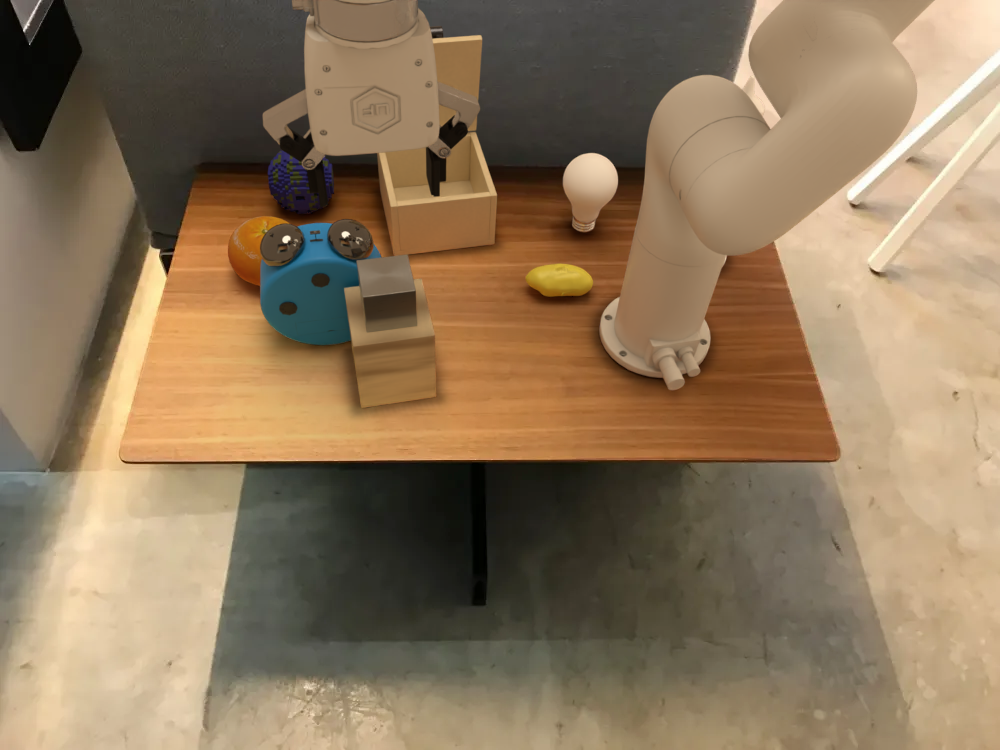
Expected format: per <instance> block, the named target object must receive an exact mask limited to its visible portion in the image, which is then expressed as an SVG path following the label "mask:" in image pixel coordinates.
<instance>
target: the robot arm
mask: <svg viewBox="0 0 1000 750" xmlns="http://www.w3.org/2000/svg"><path fill="white" fill-rule="evenodd" d="M935 1H936V0H781V2H780V3H779V4H778V5H777V6H776V7H775V8H774V9H773V10H772V11H771V12H770V13H769V14H768V15H767V16H766V17H765V18H764V20H763V21H762V22H761V23H760V25H759V26H758V27H757V29H755V31H754V33H753V35H752V37H751V39H750V42H749V45H748V53H747V55H748V62H749V67H750V70H751V71H752V74H753V76H754V77H755V81H756V82H757V84H758V85H759V87H760V88H761V90H762V92H763V94H764V95H765V96H766V98H767V100H768V101H769V103H770V104H771V106H772V107H773V109H774V110H775V112H776V113H777V115H778V116H779V118H780V119H779V120H778V121H777V123H776V124H774V125H773V126H772V127H770V126H769V124H768V122H767V121H766V120H765V118H764V115H763V116H762V115H761V113H760V112H759V110H758V109H757V107H756V106H755V104H754V103H753V102H752V100H751V99H750V97H749V96H748V95H747V94H746V93H745V92H744V91H743V90H742V89H743V88H741V87H740V86H739V85H737V84H736V83H735V82H733V81H731V80H730V79H727V78H726V77H725V78H724V77H722V76H719V75H712V74H702V75H696V76H692V77H689V78H687V79H684V80H683V81H681V82H679V83H678V84H676V85H674V86H673V87H672V88H671V89H670V90H668V92H667V93H665V95H664V96H663V97H662V99H661V100H660V101H659V103H658V105H657V106H656V109H655V110H654V112H653V114H652V117H651V121H650V123H649V127H648V132H647V138H646V146H645V148H646V149H645V162H644V163H645V166H644V181H643V190H642V194H641V201H640V206H639V210H638V215H637V220H636V224H635V227H634V232H633V235H632V236H633V237H632V241H631V244H630V245H631V246H630V249H629V254H628V259H627V263H626V268H625V272H624V276H623V282H622V286H621V290H620V295H619V296H617V298H614V299H613V300H612V301H611V302H610V303H609V304H608V305H606V306H607V307H605V309H604V310H603V312H602V314H601V316H600V322H599V326H598V327H599V328H598V329H599V338H600V341H601V344H602V346H603V349H604V350H605V352H606V353H607V354H608V355H609V356H610V357H611V359H613V360H614V361H615V362H616V363H618V364H619V365H620V366H622V367H623V368H625V369H627V370H628V371H631V372H633V373H635V374H638V375H642V376H646V377H649V378H656V379H657V378H658V379H663V381H664V383H665V386H666V387H667V390H669V391H677V390H679V389H682V387H684V385H685V384H686V381H685V378H684V376H683V375H686V374H687V376H688V377H690V378H694V377H697V376H698V375H700V373H701V369H700V367H699V366H700V365H701V363H702V362H703V361H704V359H705V358H706V357H707V354H708V352H709V349H710V346H711V340H712V339H711V330H710V328H709V325H708V323H707V320H706V319H705V317H706V315H707V312H708V309H709V306H710V303H711V300H712V297H713V294H714V291H715V289H716V285H717V282H718V280H719V277H720V274H721V271H722V269H723V267H724V265H723V263H724V260H725V257H726V255H727V257H729V256H730V257H731V256H732V257H733V256H735V257H736V256H742V255H747V254H751V253H754V252H756V251H759V250H761V249H763V248H765V247H767V246H769V245H770V244H772V243H773V242H775V241H777V240H778V239H780V238H781V237H782V236H784V235H785V234H787V233H788V232H789V231H791V230H792V229H793V228H795V227H796V226H797V225H799V224H800V223H801V222H802V221H804V220H805V219H806V218H807V217H808V216H810V214H812V213H814V212H815V211H816V210H817V209H819V208H820V207H821V206H822V205H824V204H825V203H826V202H827V201H829V200H830V199H831V198H832V197H833V196H835V195H836V194H837V193H838V192H839V191H841V190H842V189H844V187H845V186H847V185H848V184H849V183H851V182H852V181H853V180H855V179H856V178H857V177H858V176H859V175H861V173H863V172H864V171H865V170H867V169H868V168H869V167H871V166H872V164H874V163H875V162H876V161H877V160H878V159H880V158H881V157H883V155H884V154H885V153H887V151H888V150H889V149H890V148H891V147H892V146H893V145H894V144H895V142H896V141H897V140H898V139H899V138H900V136H901V135H902V133H903V132H904V130H905V129H906V127H907V126H908V124H909V122H910V120H911V118H912V115H913V113H914V111H915V108H916V104H917V101H918V100H917V98H918V84H917V83H918V82H917V78H916V75H915V73H914V71H913V68H912V67H911V65H910V63H909V62H908V60H907V59H906V58H905V56H904V54H903V53H902V52H901V51H900V50H899V49H898V47H896V45H894V43H893V42H894V41H895V40H896V39H897V38H898V37H899V36H900V35H901V34H902V33H903V32H904V31H905V30H906V29H907V28H908V27H910V25H911V24H912V23H913V22H914V21H915V20H916V19H918V17H919V16H920V15H921V14H922V13H923V12H924V11H925V10H927V8H929V7H930V6H931V5H932V4H933V3H934V2H935ZM291 5H292V6H291V7H292V11H303V12H305V13H308V12H309V14H308V16H307V18H306V21H305V28H304V29H305V30H304V43H303V44H304V45H303V52H304V53H303V56H304V62H303V63H304V64H303V65H304V84H305V85H304V86H305V88H304V89H302V90H301V91H299V92H297V93H295V94H293V95H292V96H290V97H288V98H286V99H285V100H283V101H281V102H280V103H277V104H275V105H273V106H272V107H270V108H269V109H267V110H265V111H263V112H262V126H263V128H264V129H265V131H266V132H267V133H268V134H269V136H271V138H272V139H273V140H274V141H275V142H276V143H277V144H278V145H279V148H280V150H283V151H284V152H286V153H287V154H289V155H290V156H292V157H293V158H295V159H297V160H298V161H300V162H301V163H302V166H303V168H305V169H306V170H307V177H308V183H309V190H310V194H313V193H318V194H319V202H320V207H323V208H327V206H329V202H328V198H327V190H326V182H325V174H324V167H323V160H322V159H323V158H324V156H325V157H326V156H331V157H343V156H357V155H358V156H359V155H369V154H377V153H383V152H395V151H406V150H415V149H422V148H425V147H426V176H427V180H428V184H429V188H430V192H431V195H433V196H434V197H437V196H440V182H445V181H446V158H447V157H449V156H450V154H451V149H452V148H453V147H454V146H455V145H456V144H457V143H459V142H460V141H461V140H462V139H463V138H464V137H465V136H466V135H467V133H468V132H469V131H468V128H469V127H470V125H472V123H473V121H474V120H475V118H476V116H477V117H478V115H479V113H480V112H481V106H480V103H479V99H478V100H477V98H476V97H475V96H473V95H470V94H468V93H465V92H463V91H460V90H458V89H455V88H453V87H450V86H448V85H445V84H443V83H440V82H438V81H437V71H436V61H435V52H434V46H433V40H432V35H431V30H430V27H431V26H430V23H429V21H428V18H427V17H426V14H425V13H424V12H423V11H422V10H421V9H420V8H419V0H291ZM439 105H442V106H445V107H447V108H450V109H453V110H455V111H456V115H454V116H453V117H452V118H450V119H449V120H448V121H447V122H446V123H445V124H444V125H443V126H441V125H439ZM306 115H307V117H308V123H309V129H308V130H307V131H306V133H305V134H304V135H303V136H302V135H301V134H299V133H298V132H296V131H295V130H293V128H290V127H289V126H288V125H290V124H291V123H293V122H295V121H297V120H299V119H300V118H301V117H305V116H306ZM722 266H723V267H722Z"/></svg>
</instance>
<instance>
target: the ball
mask: <svg viewBox="0 0 1000 750" xmlns="http://www.w3.org/2000/svg"><path fill="white" fill-rule="evenodd" d="M322 160H323V167H324V174H325V182H326V190H327V198H328V203H329V201H330V200H331V199H332V195H334V194H335V179H334V169H333V164H332V163H330V161H329V159H328V158H327V156H326V155H325V156H324V158H323V159H322ZM267 176H268V177H267V180H268V187H269V193H270V196H272V198H273V200H275V201H276V202H277V203H276V204H278V205H280V208H283V210H285V211H289V212H291V213H295V214H297V215H305V214H306V215H307V214H308V215H309V214H313V212H318V210H321V209H324V207H320V202H319V194H318V193H313V194H310V190H309V183H308V177H307V170H306V169H305V168H303V166H302V163H301V162H300V161H298V160H297V159H295V158H293V157H292V156H290V155H289V154H287V153H286V152H284V151H283V150H282V149H280V150H279V151H278V152H277V153H276V155H275V156H274V157H272V159H271V160H270V164H269V165H268V169H267Z"/></svg>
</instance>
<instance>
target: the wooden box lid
mask: <svg viewBox="0 0 1000 750" xmlns="http://www.w3.org/2000/svg"><path fill="white" fill-rule="evenodd" d="M430 30H431V35H432V40H433V46H434V52H435V61H436V71H437V81H438V82H440V83H443V84H445V85H448V86H450V87H453V88H455V89H458V90H460V91H463V92H465V93H468V94H470V95H473V96H475V97H476V98H477V100H478V101H479V94H480V82H481V79H480V78H481V66H482V65H481V64H482V51H483V37H482V35H481V34H475V35H464V36H463V35H462V36H450V37H449V36H448V37H444V29H443V26H442V25H435V26H430ZM454 115H456V111H455V110H453V109H450V108H447V107H445V106H442V105H439V125H441V126H443V125H444V124H445V123H446V122H447V121H448V120H449V119H450V118H452V117H453V116H454ZM477 125H478V115H477V116H476V118H475V120H474V121H473V123H472V125H470V127H469V128H468V132H476V131H477Z"/></svg>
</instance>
